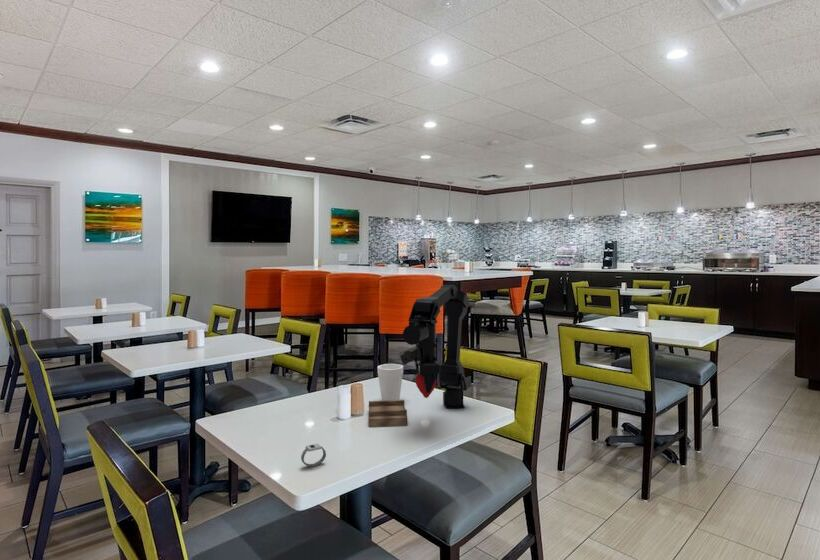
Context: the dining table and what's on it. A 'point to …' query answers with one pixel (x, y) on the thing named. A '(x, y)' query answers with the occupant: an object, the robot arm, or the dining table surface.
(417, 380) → the strawberry
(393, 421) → the stand
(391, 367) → the foam cup
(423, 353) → the robot arm
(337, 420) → the dining table surface
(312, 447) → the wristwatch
